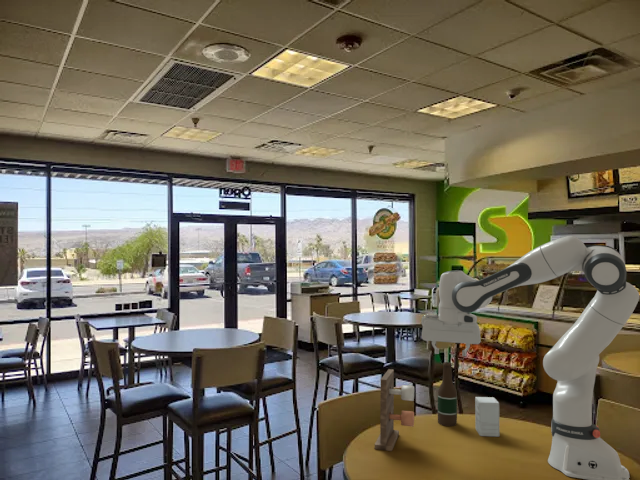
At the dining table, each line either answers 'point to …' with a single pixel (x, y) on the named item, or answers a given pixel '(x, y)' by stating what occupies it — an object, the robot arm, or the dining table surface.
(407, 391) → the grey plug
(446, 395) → the beer bottle
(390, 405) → the plug panel
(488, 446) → the dining table surface
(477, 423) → the supplement box
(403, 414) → the terracotta plug
